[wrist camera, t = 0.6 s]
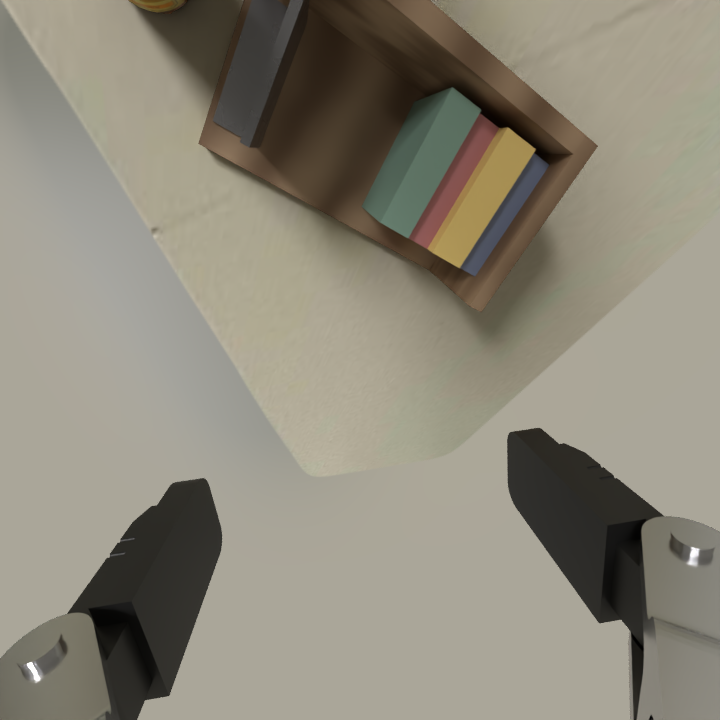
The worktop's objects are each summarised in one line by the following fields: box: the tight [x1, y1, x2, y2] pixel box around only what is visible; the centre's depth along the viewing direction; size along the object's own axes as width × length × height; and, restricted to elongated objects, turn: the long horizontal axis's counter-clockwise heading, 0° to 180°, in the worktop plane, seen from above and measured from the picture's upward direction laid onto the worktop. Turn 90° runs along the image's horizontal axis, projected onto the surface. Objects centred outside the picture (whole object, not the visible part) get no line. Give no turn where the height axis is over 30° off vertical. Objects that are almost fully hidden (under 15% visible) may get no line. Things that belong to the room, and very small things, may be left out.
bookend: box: [213, 0, 309, 148], centre depth 25 cm, size 4×9×8 cm, turn 151°
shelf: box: [198, 0, 598, 312], centre depth 28 cm, size 24×13×12 cm, turn 61°
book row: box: [361, 87, 549, 276], centre depth 30 cm, size 9×9×9 cm
